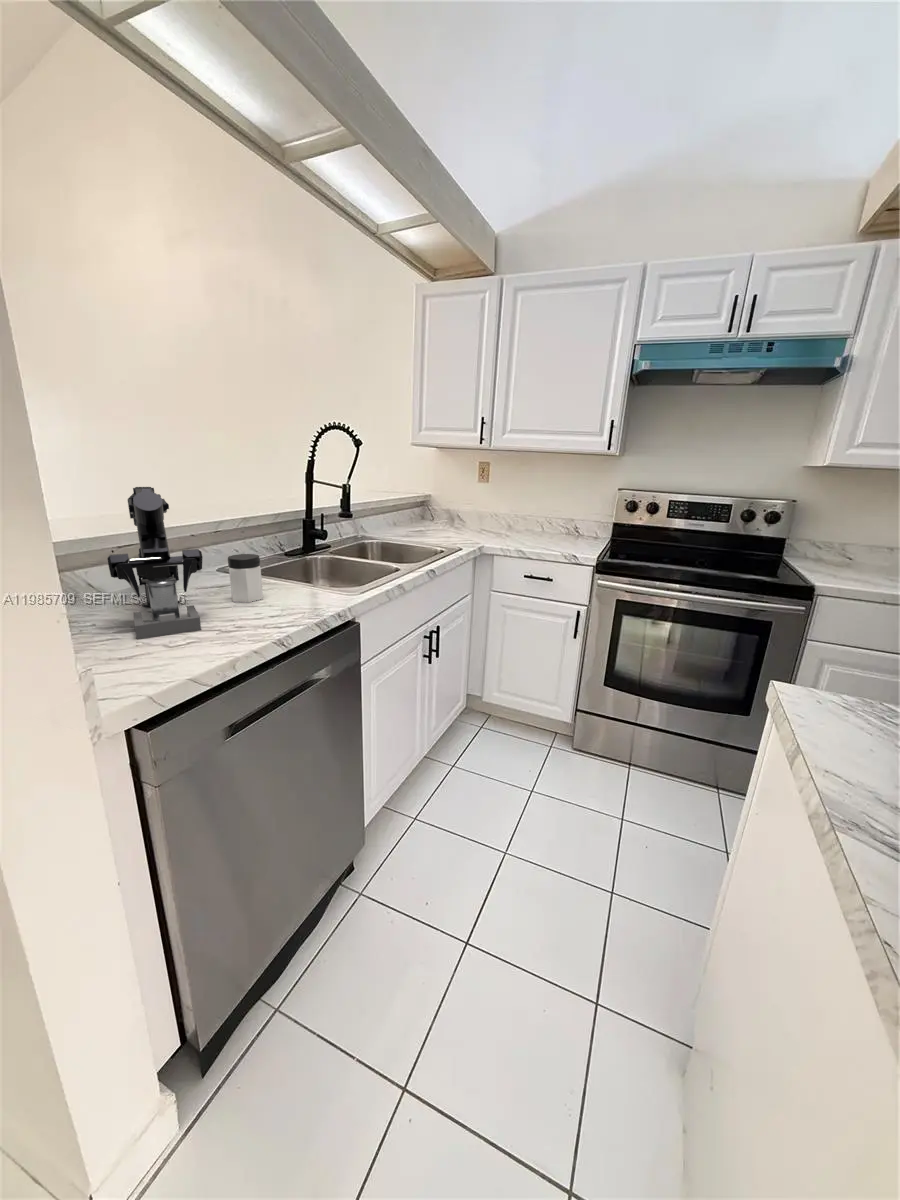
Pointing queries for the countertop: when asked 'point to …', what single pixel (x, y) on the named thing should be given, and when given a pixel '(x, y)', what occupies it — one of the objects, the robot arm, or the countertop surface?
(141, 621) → the u-shaped bracket
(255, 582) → the jar
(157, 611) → the dark grey flanged cylinder
